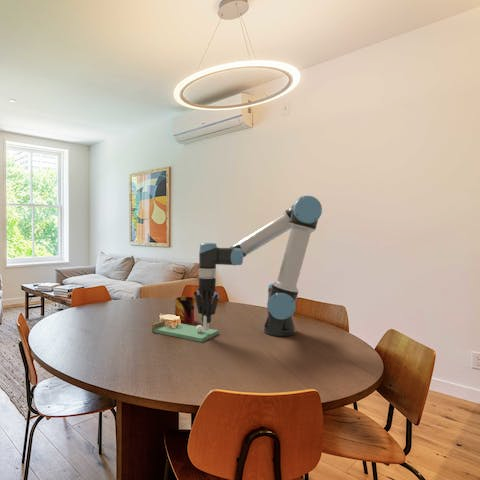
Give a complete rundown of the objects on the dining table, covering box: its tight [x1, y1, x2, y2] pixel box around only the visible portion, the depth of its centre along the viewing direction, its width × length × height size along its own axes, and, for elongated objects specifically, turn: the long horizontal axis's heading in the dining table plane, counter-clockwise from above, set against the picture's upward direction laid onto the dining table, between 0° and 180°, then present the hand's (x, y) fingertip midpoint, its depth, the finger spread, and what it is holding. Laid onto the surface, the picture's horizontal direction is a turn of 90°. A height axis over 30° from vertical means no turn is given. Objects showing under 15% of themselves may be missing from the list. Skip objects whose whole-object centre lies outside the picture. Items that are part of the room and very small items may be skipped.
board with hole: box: [151, 320, 220, 343], centre depth 159 cm, size 28×14×4 cm, turn 62°
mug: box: [174, 296, 195, 325], centre depth 178 cm, size 10×14×12 cm
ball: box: [196, 324, 203, 332], centre depth 155 cm, size 3×3×3 cm
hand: (206, 329), depth 153 cm, fingers closed
